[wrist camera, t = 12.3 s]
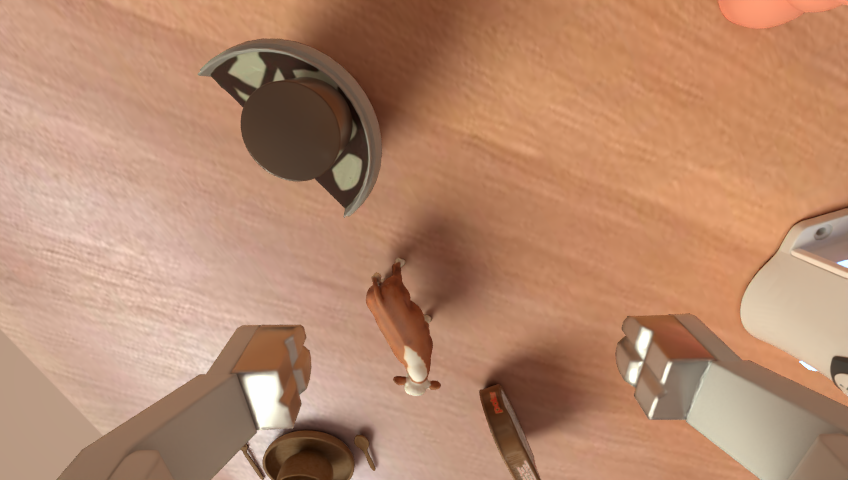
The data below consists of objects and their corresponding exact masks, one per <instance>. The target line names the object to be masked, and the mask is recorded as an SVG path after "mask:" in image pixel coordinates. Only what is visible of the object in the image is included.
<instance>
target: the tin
mask: <svg viewBox="0 0 848 480" xmlns="http://www.w3.org/2000/svg"><path fill="white" fill-rule="evenodd" d="M479 393H480V399H481V403H482V407H483V410H484V413H485V416H486V419H487V422H488V425H489V428H490V431H491V433H492V436H493V438H494V441H495V443H496V446H497V448H498V450H499V452H500V455H501V457H502V459H503V461H504V462H505V464H506V466H507V468H508V470H509V472H510V474H511V475H512V477H513V479H514V480H541V479H540V476H539V473H538V471H537V468H536V465H535V460H534V456H533V453H532V451H531V448H530V446H529V444H528V441H527V439H526V436H525V434H524V432H523V430H522V427H521V425H520V423H519V421H518V419H517V417H516V414H515V412H514V410H513V408H512V406H511V404H510V402H509V400H508V398H507V396H506V394H505V392H504V390H503V388H502V387H501V385H494V386H491V387H489V388H486V389H483V390H480V391H479Z"/></svg>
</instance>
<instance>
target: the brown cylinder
mask: <svg viewBox="0 0 848 480" xmlns="http://www.w3.org/2000/svg"><path fill="white" fill-rule="evenodd" d="M352 128H353V122H352V115H351V112H350V109H349V106H348V104H347V102H346V101H345V99H344V98H343V96H342V95H341V94H340V93H339V92H338V91H337V90H336V89H335V88H334V87H333V86H331V85H330V84H328V83H327V82H325V81H323V80H320V79H317V78H312V77H298V78H292V79H286V80H280V81H274V82H270V83H267V84H265V85H263V86H261V87H259V88H258V89H257V90H255V91H254V92H253V93H252V94H251V95H250V97H249V98H248V99H247V101H246V103H245V105H244V107H243V111H242V115H241V132H242V137H243V140H244V143H245V145H246V148H247V149H248V151H249V153H250V155H251V156H252V157H253V159H254V160H255V161H256V162H257V163H258V164H259V165H260V166H261V167H262V168H263V169H265V170H266V171H267V172H269V173H271V174H272V175H274V176H276V177H279V178H281V179H285V180H289V181H307V180H312V179H314V178H317V177H319V176H321V175H322V174H324V173H325V172H326V171H327V170H329V169H330V168H331V166H332V165H333V164H334V162H335V161H336V160H337V158H338V157H339V156H340V155H341V153H342V152H343V151H344V149H345V148H346V147H347V145H348V143H349V141H350V138H351V135H352Z"/></svg>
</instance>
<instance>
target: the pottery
mask: <svg viewBox="0 0 848 480" xmlns="http://www.w3.org/2000/svg"><path fill="white" fill-rule="evenodd" d="M718 3H719V7H720V10H721V12H722V13H723V15H724V16H725V17H726V18H727V19H728V20H729V21H731V22H732V23H734V24H738V25H742V26H745V27H749V28H754V29H757V28H770V27H775V26H778V25H782V24H784V23H787V22H789V21H791V20H793V19H795V18H797V17H799V16H800V15H802V14H803V13H805V12H823V11H827V10H831V9H833V8H836V7H838V6H841V5H843V4H846V5H848V0H718Z"/></svg>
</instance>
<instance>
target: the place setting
mask: <svg viewBox="0 0 848 480" xmlns="http://www.w3.org/2000/svg"><path fill="white" fill-rule="evenodd" d="M354 443H355V445H356V446H357V447H358V448H360V449H361V450H362V451H363V452H364V454H365V456H366V458H367V461H368V463H369V465H370V467H371V469H372V470H373V471H375V466H374V463H373V461H372V460H371V458H370V456H369V454H368V451H367V449H368V447H369V441H368V439H367V438H366V437H365V436H363V435H357V436H356V437H355V439H354ZM247 448H248V446H247V445H246V444H245V446H243V447H242V448H241V449H240V450H242V451H243V453H244V455H245V457H246V458H247V460H248V461H249V463H250V464H251V466H252V467H253V468H254V470H255V471H256V473H257V474H258V476H259V477H260V478H261V479H262V480H264V478H263V476H262V474H261V472H260V471H259V469H258V468H257V466H256V465H255V463H254V462H253V460H252V459H251V458H250V456H249V455H248V453H247ZM263 468H264V470H265V472H266V474H267V475H268V476H269V478H270V479H271V480H350V479H351V477H352V475H353V472H354V458H353V455H352V453H351V451H350V449H349V448H348V447H347V446H346V445H345V444H344V443H343V442H342V441H341V440H339V439H338V438H336V437H334V436H332V435H330V434H327V433H323V432H319V431H311V430H303V431H295V432H291V433H288V434H285V435H283V436H281V437H279V438H277V439H276V440H275V441H273V442H272V443H271V444H270V446H269V447H268V448H267V450H266V452H265V454H264V457H263Z"/></svg>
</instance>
